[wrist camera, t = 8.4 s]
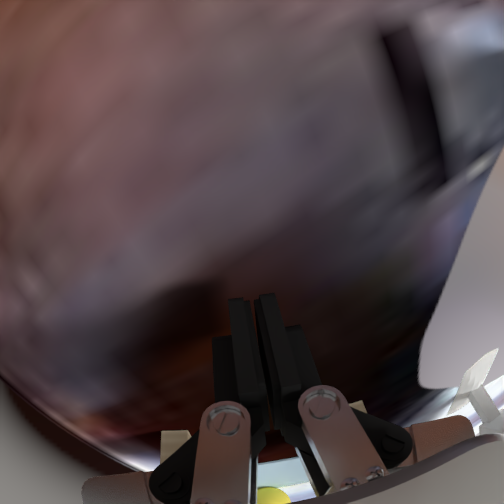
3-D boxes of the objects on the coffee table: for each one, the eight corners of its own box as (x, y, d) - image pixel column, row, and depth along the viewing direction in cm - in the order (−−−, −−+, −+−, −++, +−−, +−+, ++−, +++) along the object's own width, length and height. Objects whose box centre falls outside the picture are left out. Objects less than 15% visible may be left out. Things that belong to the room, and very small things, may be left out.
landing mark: (207, 468, 23) (207, 470, 23) (327, 449, 24) (328, 451, 24) (226, 492, 29) (226, 493, 29) (316, 478, 30) (316, 479, 30)
